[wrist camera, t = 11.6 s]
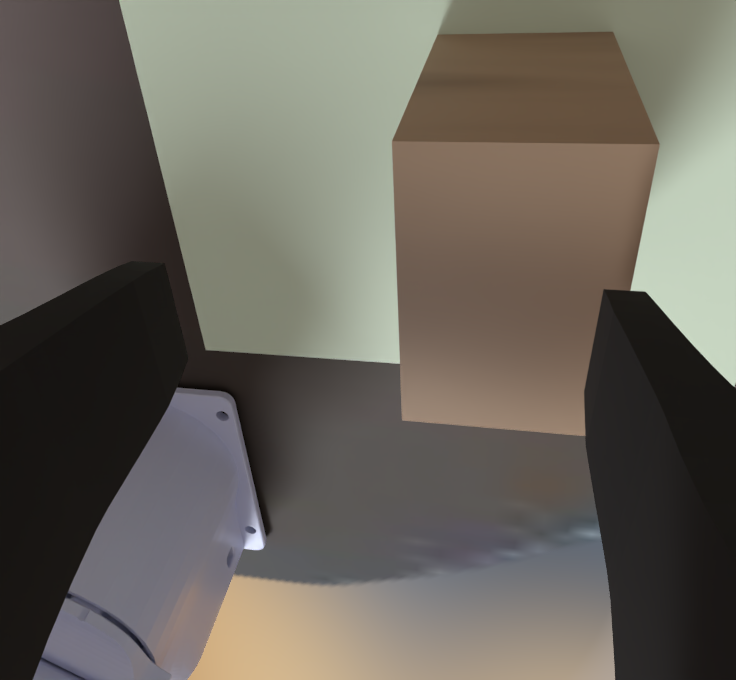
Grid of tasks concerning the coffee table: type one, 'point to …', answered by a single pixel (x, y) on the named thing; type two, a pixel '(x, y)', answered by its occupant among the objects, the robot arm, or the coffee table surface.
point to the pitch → (375, 165)
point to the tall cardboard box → (514, 223)
